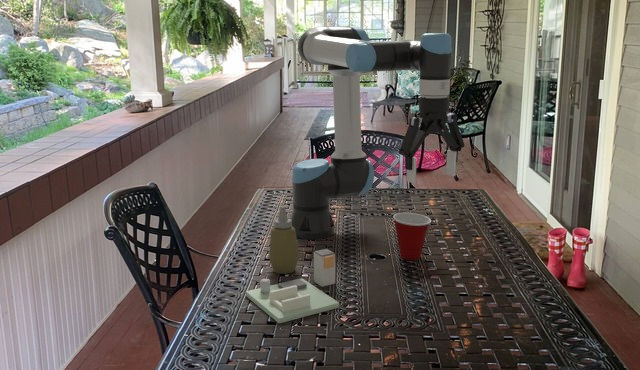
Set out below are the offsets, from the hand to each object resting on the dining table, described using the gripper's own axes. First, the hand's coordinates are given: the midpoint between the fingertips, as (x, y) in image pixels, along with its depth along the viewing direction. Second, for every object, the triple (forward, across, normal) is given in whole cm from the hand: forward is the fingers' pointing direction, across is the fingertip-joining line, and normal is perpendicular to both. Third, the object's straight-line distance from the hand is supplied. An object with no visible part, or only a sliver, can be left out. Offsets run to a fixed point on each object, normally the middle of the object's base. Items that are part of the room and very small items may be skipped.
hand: (431, 178), depth 166 cm
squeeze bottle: (+26, -31, +23) cm, 47 cm away
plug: (+26, -27, +10) cm, 39 cm away
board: (+26, -40, +4) cm, 48 cm away
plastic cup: (+26, +4, +12) cm, 29 cm away
